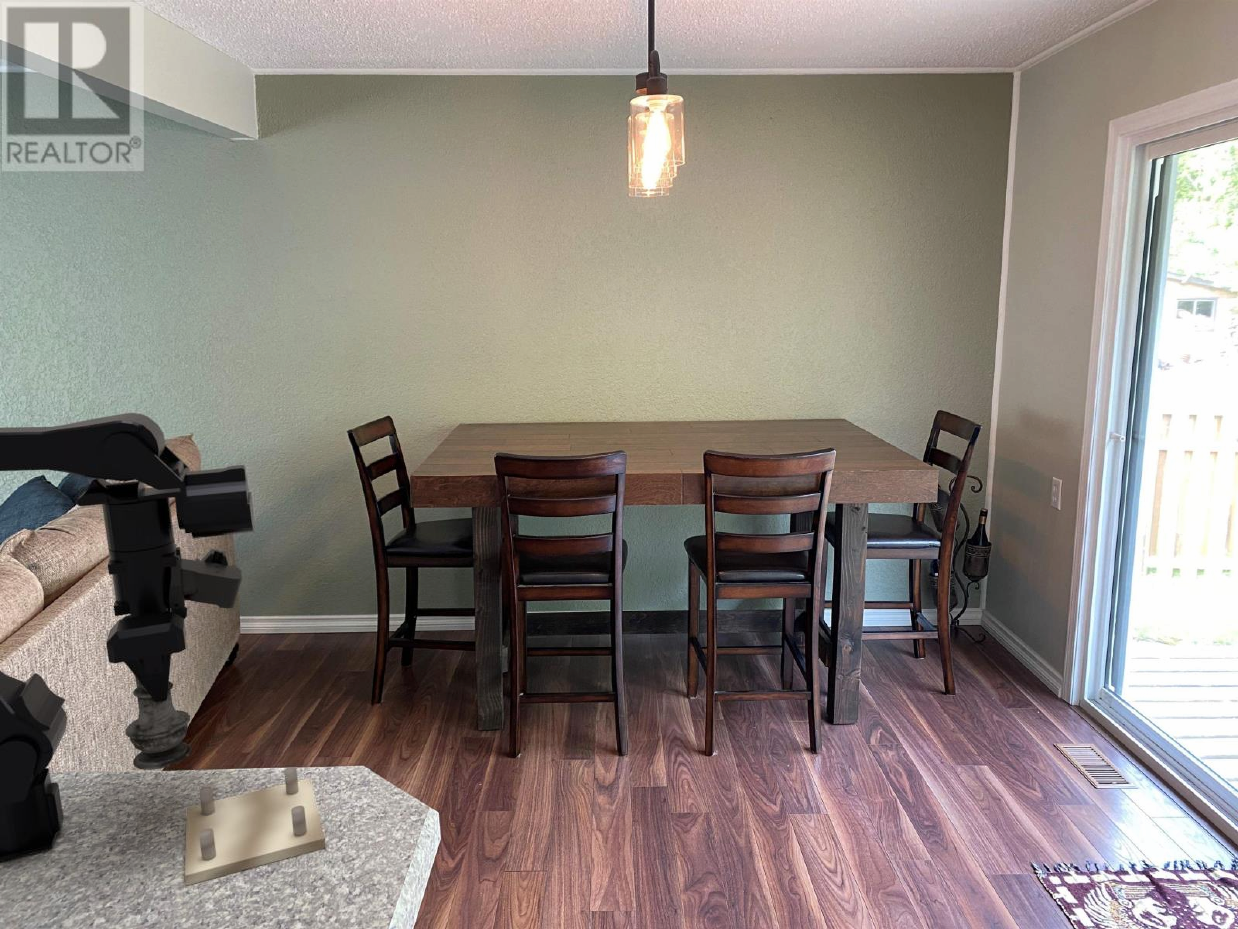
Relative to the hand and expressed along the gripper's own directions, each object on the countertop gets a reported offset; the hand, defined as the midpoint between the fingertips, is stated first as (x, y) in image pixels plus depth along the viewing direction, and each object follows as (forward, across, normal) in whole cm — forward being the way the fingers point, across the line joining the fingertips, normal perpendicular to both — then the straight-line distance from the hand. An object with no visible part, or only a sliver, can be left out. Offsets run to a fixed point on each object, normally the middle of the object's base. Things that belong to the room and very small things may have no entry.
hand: (162, 693), depth 89 cm
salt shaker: (+7, 0, +1) cm, 7 cm away
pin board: (+13, -8, -7) cm, 17 cm away
